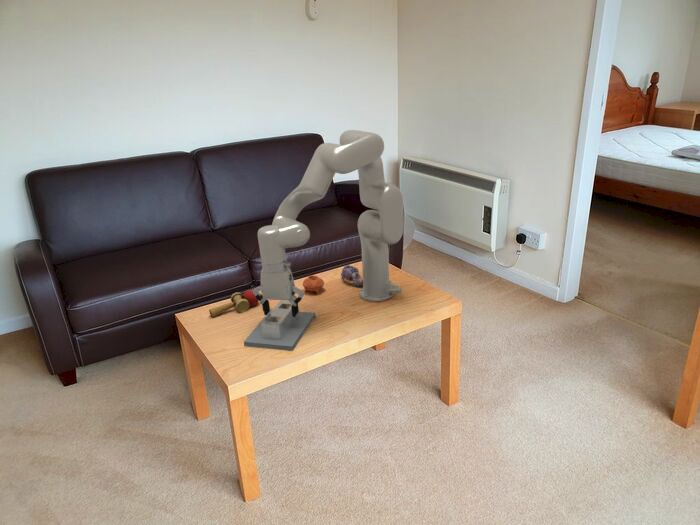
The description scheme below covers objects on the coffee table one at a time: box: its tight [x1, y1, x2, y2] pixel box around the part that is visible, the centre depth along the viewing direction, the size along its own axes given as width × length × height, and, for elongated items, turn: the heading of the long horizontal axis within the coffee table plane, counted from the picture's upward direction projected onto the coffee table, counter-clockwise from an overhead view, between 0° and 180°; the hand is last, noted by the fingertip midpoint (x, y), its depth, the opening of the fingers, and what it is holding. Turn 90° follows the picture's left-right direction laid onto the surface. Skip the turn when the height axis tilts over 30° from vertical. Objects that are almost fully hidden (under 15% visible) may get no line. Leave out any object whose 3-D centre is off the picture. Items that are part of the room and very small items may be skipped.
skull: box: [340, 264, 363, 288], centre depth 199 cm, size 12×8×6 cm, turn 26°
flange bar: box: [261, 300, 298, 340], centre depth 167 cm, size 16×6×5 cm, turn 165°
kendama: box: [208, 289, 260, 318], centre depth 183 cm, size 8×6×18 cm
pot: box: [302, 274, 325, 295], centre depth 194 cm, size 8×8×7 cm
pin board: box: [243, 308, 316, 352], centre depth 168 cm, size 16×22×5 cm
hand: (281, 314), depth 167 cm, fingers open, 9 cm apart
